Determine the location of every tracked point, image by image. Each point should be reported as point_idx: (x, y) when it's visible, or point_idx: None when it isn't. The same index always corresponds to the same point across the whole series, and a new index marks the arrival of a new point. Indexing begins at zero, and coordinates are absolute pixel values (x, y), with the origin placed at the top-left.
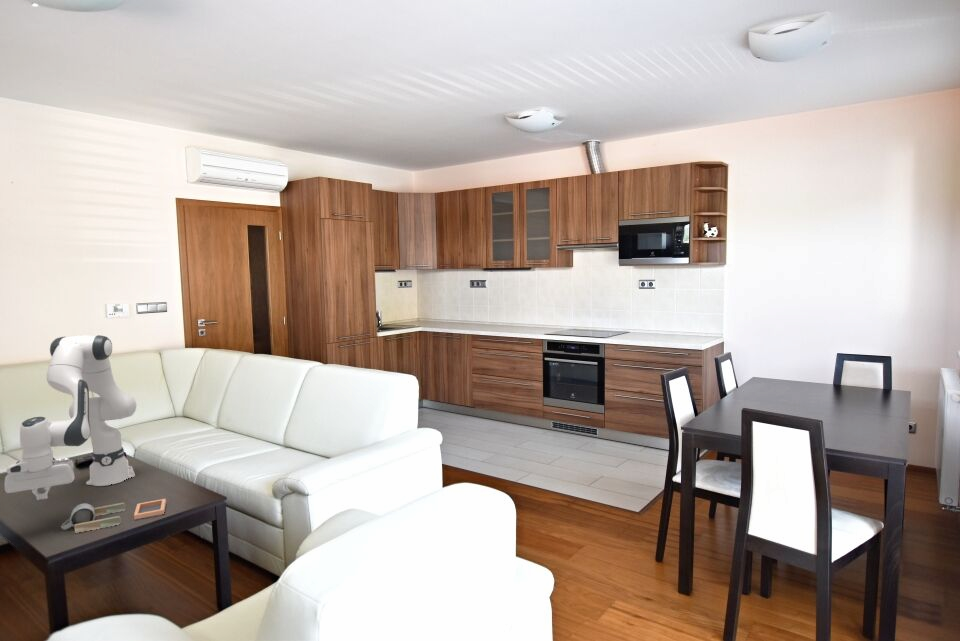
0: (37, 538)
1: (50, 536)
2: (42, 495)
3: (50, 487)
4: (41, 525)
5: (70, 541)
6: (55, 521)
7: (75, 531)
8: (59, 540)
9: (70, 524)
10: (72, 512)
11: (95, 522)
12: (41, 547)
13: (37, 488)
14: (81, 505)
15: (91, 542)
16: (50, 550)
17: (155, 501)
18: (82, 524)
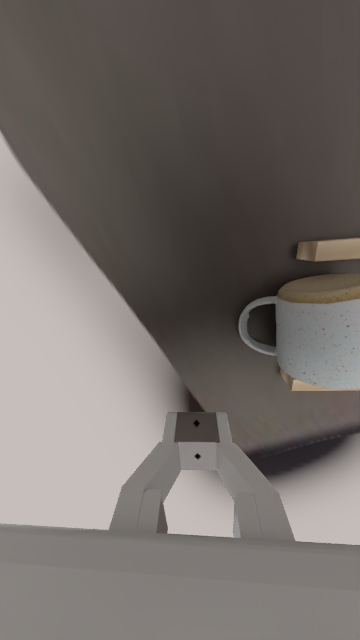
0: (183, 357)
1: (215, 360)
2: (205, 465)
3: (278, 496)
4: (160, 254)
5: (271, 410)
6: (200, 234)
7: (284, 377)
8: (244, 394)
9: (273, 352)
10: (301, 359)
11: (354, 389)
12: (209, 411)
13: (161, 531)
14: (355, 344)
15: (319, 435)
16: (234, 433)
17: None
18: (315, 390)
